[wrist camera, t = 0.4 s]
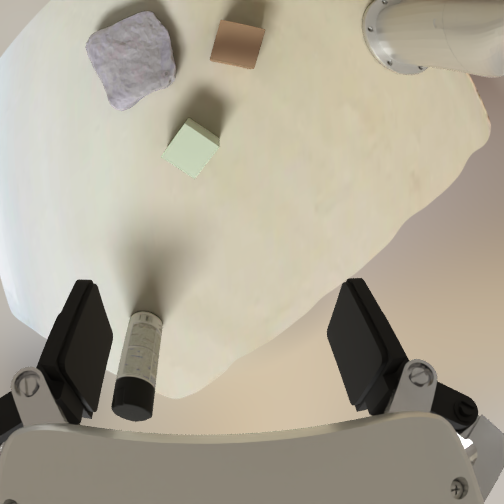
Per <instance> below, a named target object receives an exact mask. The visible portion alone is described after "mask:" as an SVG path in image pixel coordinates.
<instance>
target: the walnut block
mask: <svg viewBox="0 0 504 504" xmlns="http://www.w3.org/2000/svg"><path fill="white" fill-rule="evenodd" d="M264 33H265V29H262V28H257V27H253V26H249V25H244V24H240V23H235V22H230V21H225V20H221V21H220V25H219V28H218V31H217V35H216V39H215V42H214V46H213V49H212V53H211V57H210V60H211V61H213V62H218V63H224V64H229V65H234V66H238V67H243V68H247V69H254V67H255V64H256V60H257V57H258V53H259V50H260V46H261V43H262V39H263V36H264Z"/></svg>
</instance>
